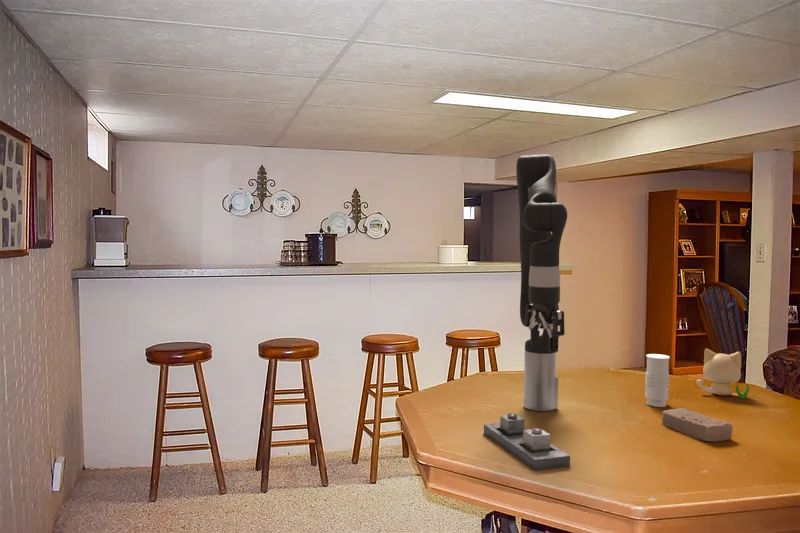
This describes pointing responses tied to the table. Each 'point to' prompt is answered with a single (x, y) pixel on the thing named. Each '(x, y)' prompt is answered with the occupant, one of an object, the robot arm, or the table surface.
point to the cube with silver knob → (536, 440)
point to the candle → (657, 379)
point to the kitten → (722, 373)
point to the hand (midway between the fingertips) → (543, 348)
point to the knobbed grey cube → (512, 425)
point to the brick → (697, 425)
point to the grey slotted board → (533, 460)
